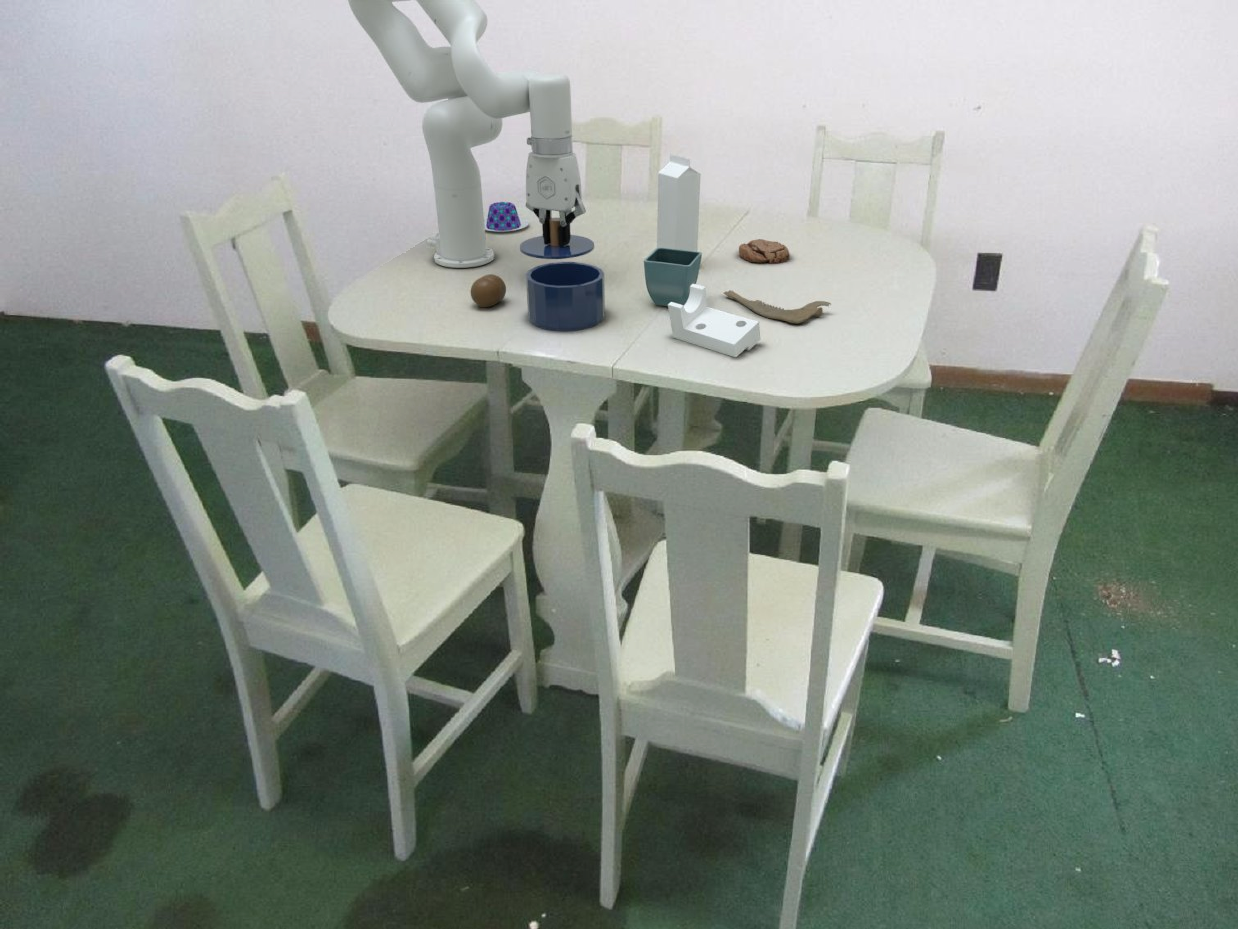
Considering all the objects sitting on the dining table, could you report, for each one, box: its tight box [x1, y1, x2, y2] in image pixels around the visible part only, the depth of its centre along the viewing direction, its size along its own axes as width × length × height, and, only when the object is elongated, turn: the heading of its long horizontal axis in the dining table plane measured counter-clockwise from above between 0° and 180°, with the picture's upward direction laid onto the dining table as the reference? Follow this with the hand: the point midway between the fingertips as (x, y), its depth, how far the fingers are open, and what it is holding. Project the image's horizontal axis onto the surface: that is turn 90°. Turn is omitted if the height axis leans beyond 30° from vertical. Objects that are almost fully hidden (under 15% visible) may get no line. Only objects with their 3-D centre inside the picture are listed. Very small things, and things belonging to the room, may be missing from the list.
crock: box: [525, 261, 606, 332], centre depth 161 cm, size 14×14×8 cm
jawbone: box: [723, 289, 832, 324], centre depth 165 cm, size 9×20×2 cm, turn 63°
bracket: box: [667, 283, 762, 358], centre depth 151 cm, size 13×7×8 cm, turn 49°
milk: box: [656, 153, 701, 252], centre depth 182 cm, size 6×6×22 cm
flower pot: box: [643, 247, 703, 307], centre depth 167 cm, size 9×9×9 cm
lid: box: [519, 217, 595, 260], centre depth 176 cm, size 15×15×6 cm
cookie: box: [738, 238, 790, 264], centre depth 192 cm, size 10×11×3 cm
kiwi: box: [470, 273, 507, 308], centre depth 168 cm, size 8×5×5 cm
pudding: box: [484, 201, 530, 233], centre depth 211 cm, size 12×12×5 cm
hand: (557, 243), depth 177 cm, fingers closed on lid, 2 cm apart
